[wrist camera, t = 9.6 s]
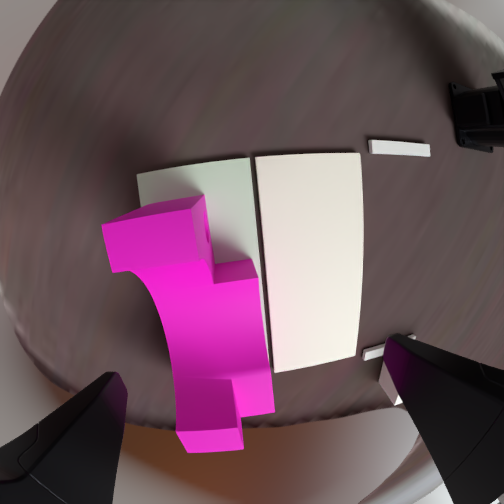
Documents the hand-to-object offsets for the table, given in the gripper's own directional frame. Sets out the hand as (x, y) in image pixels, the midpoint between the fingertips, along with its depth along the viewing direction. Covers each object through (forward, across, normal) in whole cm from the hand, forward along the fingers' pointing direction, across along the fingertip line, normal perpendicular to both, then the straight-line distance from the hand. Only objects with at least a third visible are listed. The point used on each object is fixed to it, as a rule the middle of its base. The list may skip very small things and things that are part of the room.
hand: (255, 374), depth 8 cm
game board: (+12, -6, +2) cm, 13 cm away
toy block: (+11, +2, +3) cm, 12 cm away
